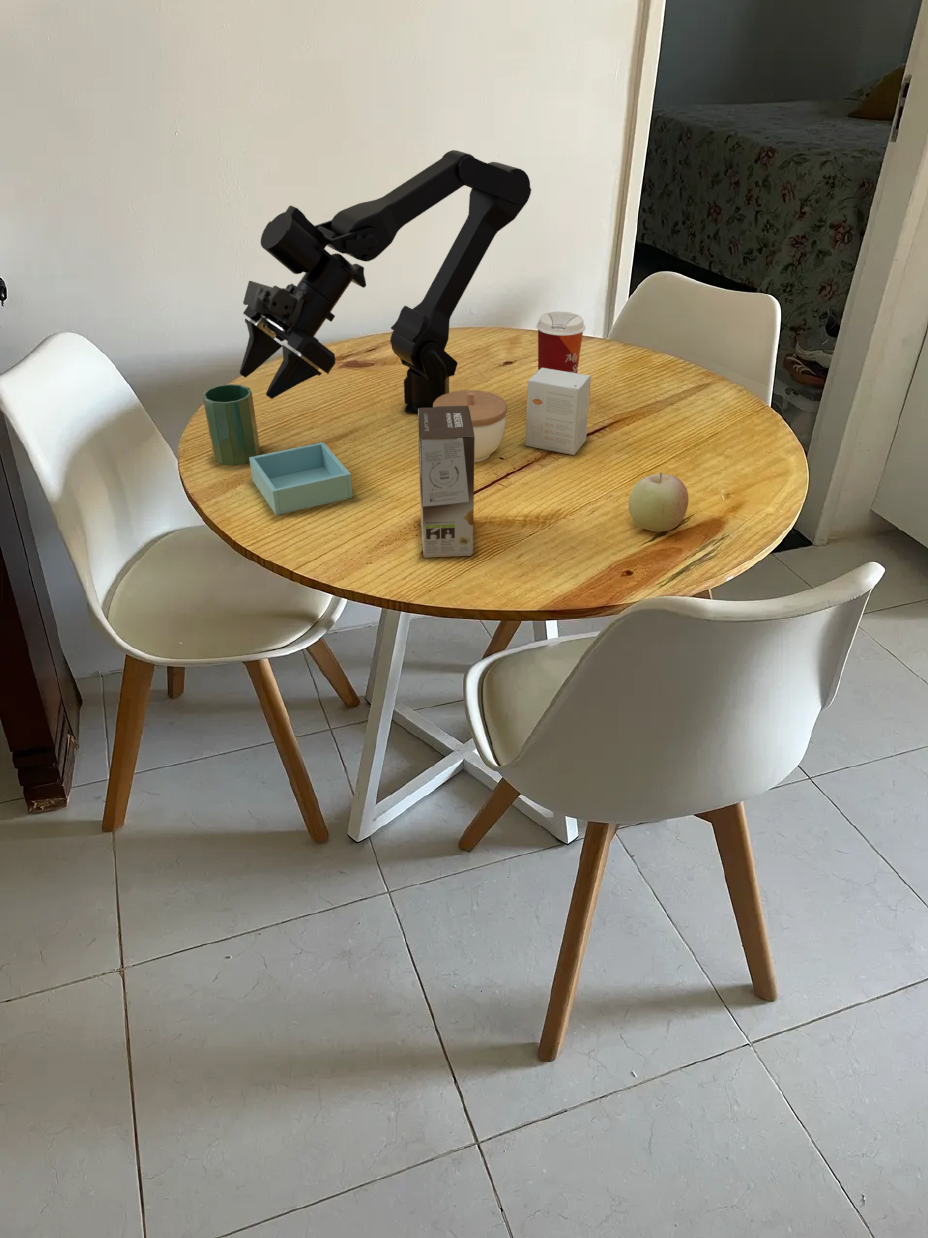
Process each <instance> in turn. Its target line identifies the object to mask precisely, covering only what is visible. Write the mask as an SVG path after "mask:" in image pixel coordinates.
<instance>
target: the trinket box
mask: <svg viewBox="0 0 928 1238" xmlns="http://www.w3.org/2000/svg"><path fill="white" fill-rule="evenodd" d="M438 406H468V407H469V411H470V416H471V421H472V426H473V431H474V436H475V442H474V464H475V463H480V462H483V461H485V460H487V459H488V458H490V456H491V454H493V453H494V452H495V451H496V450H497V449H498V448H499V446H500V445H501V443H502V441H503V440H504V439H503V438H504V435H505V431H506V426H507V415H508V409H509V408H508V403H507V401H506V400H505V399H504V398H503V397H502V396H500V395H498V394H495V393H493V392H489V391H484V390H479V389H477V390H475V389H464V390H454V391H449V393H447V394H444V395H442V396H440V397H438V398H437V399H436V400H435V402H434V403H433V408H434V407H438Z"/></svg>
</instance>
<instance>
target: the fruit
mask: <svg viewBox="0 0 928 1238" xmlns="http://www.w3.org/2000/svg"><path fill="white" fill-rule="evenodd" d="M688 506H689V491H688V489H687V486H686V485H685V483H684V482H683V481H682V479H680V478H679V477H677V476H674V475H672V474H665V473H663V472H662V471H661V472H659V473H658V474H651V475H647V476H645V477H643V478H641V479H639V480H638V481H637V482H636V483H635V484H634V486H633V488H632V489H631V491H630V494H629V497H628V511H629V515H630V518H631V519H632V521H633V522H634V524H635V525H636V526H638V527H639V528H641V529H642V530H646V531H651V532H655V533H662V532H669V531H671V530H673V529H675V528H676V527H678V526H679V525H680V523H681V522H682V521H683V520H684V518H685V516H686V513H687V512H688V511H687V510H688V508H689V507H688Z"/></svg>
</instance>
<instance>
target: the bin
mask: <svg viewBox="0 0 928 1238" xmlns="http://www.w3.org/2000/svg"><path fill="white" fill-rule="evenodd" d="M249 460H250V463H249V466H250V472H251V480H252V482H253V483H254V485H255V487H256V488H257V490H258V491H259V492H260V494H261V496H262V497H263V498H264V500H265V501H266V503H267V505H268V506H269V507H270V509H271V510H272V512H273V514H275V516H279V515H280V516H281V515H283V514H288V513H292V512H297V511H300V510H301V511H302V510H304V509H305V510H306V509H309V508H313V507H318V506H322V505H326V504H330V503H335V502H339V501H344V500H348V499H351V498H353V497H354V495H353V483H352V473H351V472H350V471H349V470H348V469H347V468H346V466H345V465H344V464H343V463H342V462H341V461H340V459H339V458H338V457H337V456H336V455H335V454H334V453H333V451H332V450H331V449H330V447H328V446H327V444H326V443H325V442H324V441H321V442H317V443H312V444H308V445H303V446H302V445H301V446H298V447H293V448H287V449H283V450H278V451H273V452H269V453H264V454H260V455H258V456H254V457H249Z"/></svg>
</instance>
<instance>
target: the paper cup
mask: <svg viewBox="0 0 928 1238" xmlns="http://www.w3.org/2000/svg"><path fill="white" fill-rule="evenodd" d="M535 328H536V329H537V371H538V370H540V369H541V368H547V369H553V370H559V371H565V372H572V373H578V371H579V370H578V369H579V363H580V355H581V347H582V343H583V335H584V331H585V330H586V325H585V324H584V318H583V317H582V316H581V315H579V314H577V313H573V312H568V311H550V312H546V313H543V314H541V315H540V317H539V318H538V322H537V323H536V325H535Z"/></svg>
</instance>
